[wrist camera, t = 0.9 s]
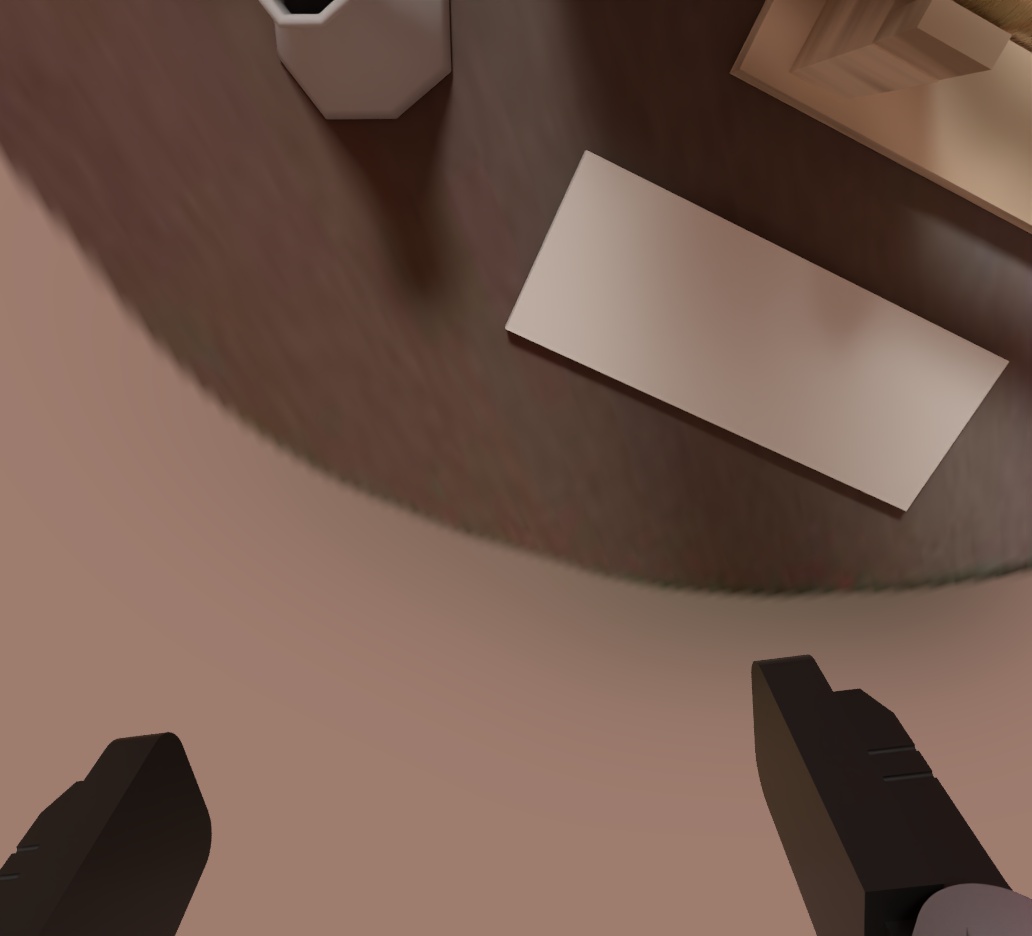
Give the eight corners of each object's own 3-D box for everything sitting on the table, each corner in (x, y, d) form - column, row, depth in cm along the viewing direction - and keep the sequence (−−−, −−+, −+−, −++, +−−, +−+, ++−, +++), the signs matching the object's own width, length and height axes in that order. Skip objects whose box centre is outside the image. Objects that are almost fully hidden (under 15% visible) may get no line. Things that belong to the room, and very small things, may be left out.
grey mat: (584, 150, 33) (586, 150, 32) (999, 357, 36) (1009, 361, 35) (505, 325, 36) (505, 329, 35) (898, 504, 39) (906, 511, 38)
